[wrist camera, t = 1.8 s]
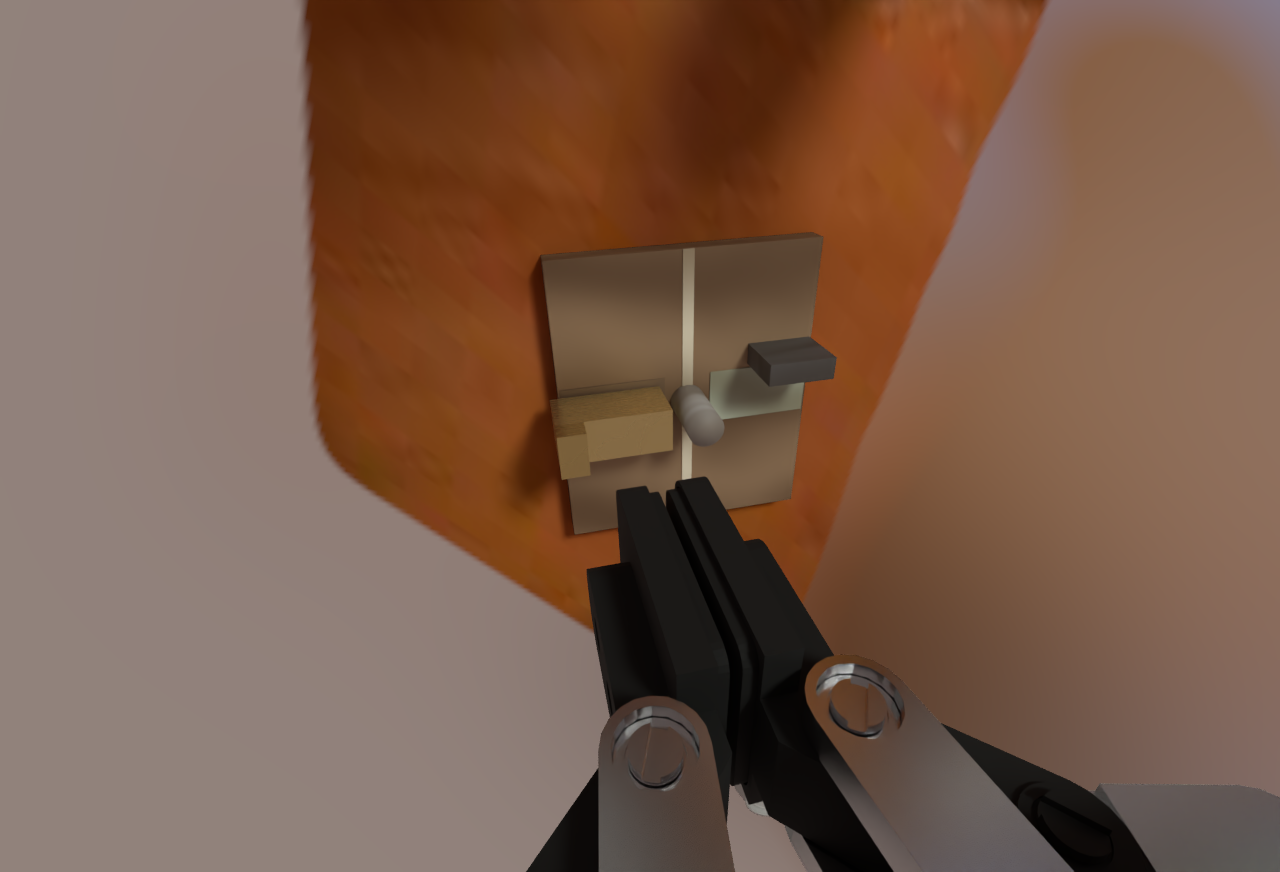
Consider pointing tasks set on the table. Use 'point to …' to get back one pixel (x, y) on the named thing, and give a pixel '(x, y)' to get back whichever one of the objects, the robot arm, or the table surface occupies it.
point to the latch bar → (610, 427)
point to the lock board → (692, 359)
